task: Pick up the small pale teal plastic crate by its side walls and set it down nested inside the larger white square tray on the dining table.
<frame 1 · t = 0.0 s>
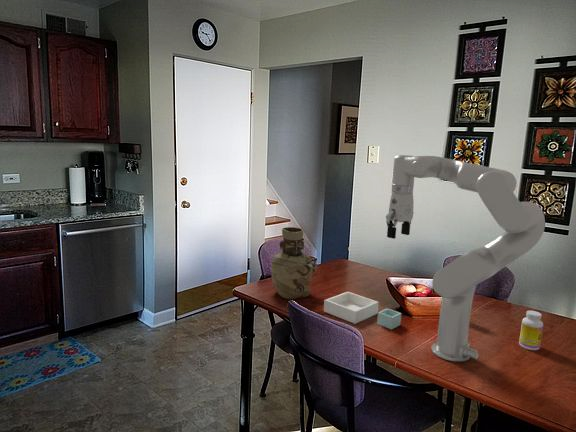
hand: (398, 236, 159), 37 cm above the table, tool pointing down, fingers open, 9 cm apart
supplement bottle: (529, 347, 157), on the table
white square tray: (350, 312, 181), on the table
ceramic vessel: (291, 293, 201), on the table
small crate: (388, 324, 171), on the table
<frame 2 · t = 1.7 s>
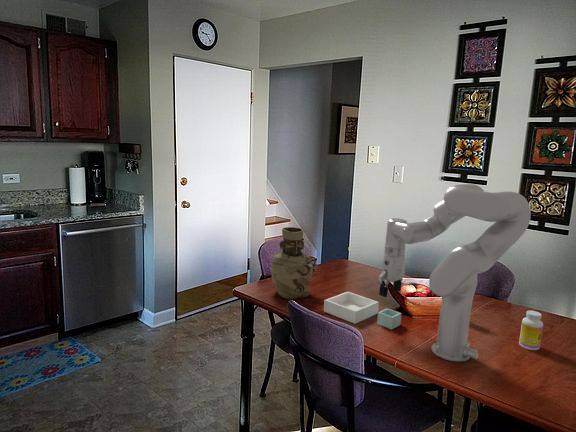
hand: (389, 293, 169), 13 cm above the table, tool pointing down, fingers open, 9 cm apart
nothing on the table moved.
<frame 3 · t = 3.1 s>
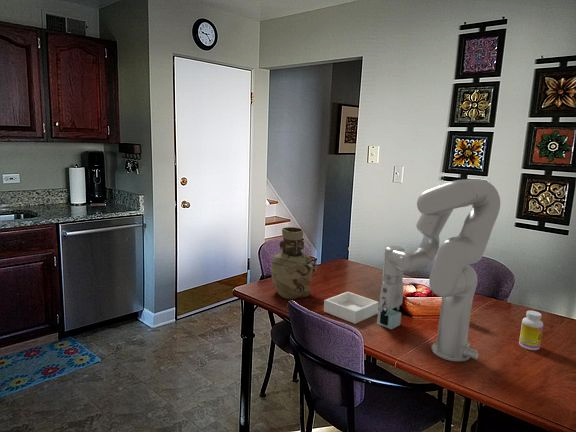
hand: (388, 321, 171), 1 cm above the table, tool pointing down, fingers closed on small crate, 6 cm apart
small crate: (388, 324, 171), on the table, touching gripper
everything else where it was.
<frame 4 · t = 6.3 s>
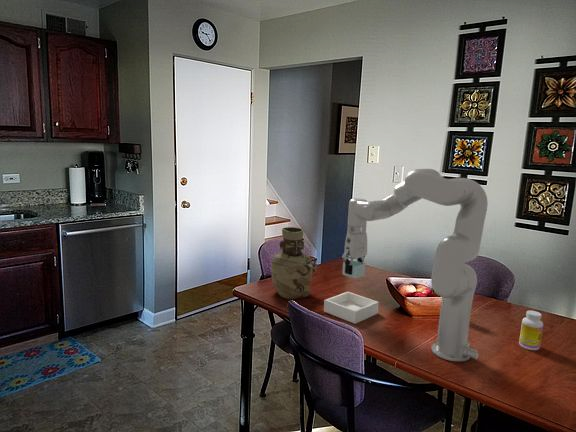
hand: (353, 271, 178), 18 cm above the table, tool pointing down, fingers closed on small crate, 6 cm apart
small crate: (353, 274, 178), point 16 cm above the table, touching gripper
everything else where it was.
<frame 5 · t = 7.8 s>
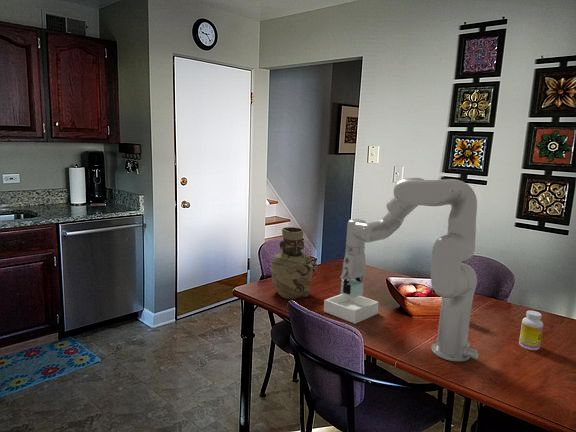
hand: (351, 291, 180), 9 cm above the table, tool pointing down, fingers closed on small crate, 6 cm apart
small crate: (351, 293, 180), point 8 cm above the table, touching gripper
everything else where it was.
when the fingers open (4 cm above the table, at t = 9.4 s): small crate drops 1 cm, resting on white square tray.
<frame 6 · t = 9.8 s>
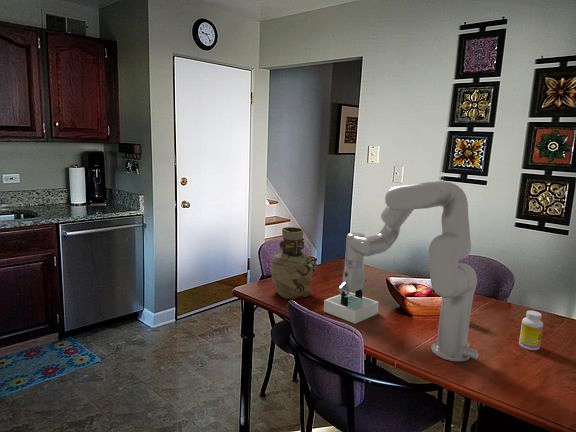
hand: (351, 302, 180), 4 cm above the table, tool pointing down, fingers open, 9 cm apart
small crate: (351, 310, 181), point 1 cm above the table, touching white square tray
everything else where it was.
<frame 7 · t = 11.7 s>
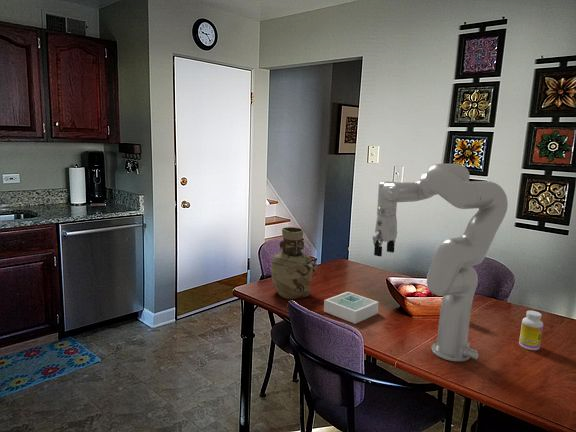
hand: (384, 253, 177), 26 cm above the table, tool pointing down, fingers open, 9 cm apart
nothing on the table moved.
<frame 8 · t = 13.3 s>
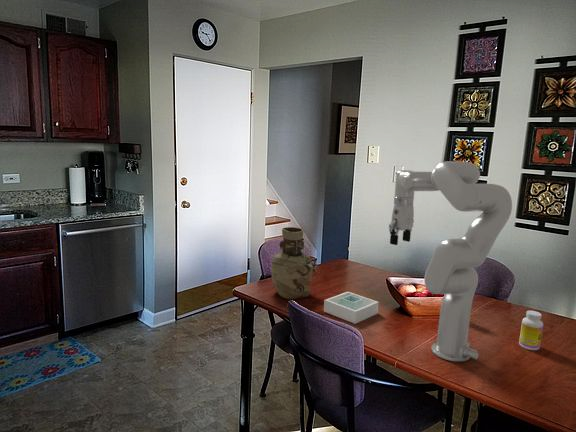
hand: (400, 242, 177), 30 cm above the table, tool pointing down, fingers open, 9 cm apart
nothing on the table moved.
at the end: small crate inside the target area on the white square tray (0.1 cm from its centre), point 1.0 cm above the white square tray's base; small crate tilted 0°; the gripper is holding nothing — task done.
